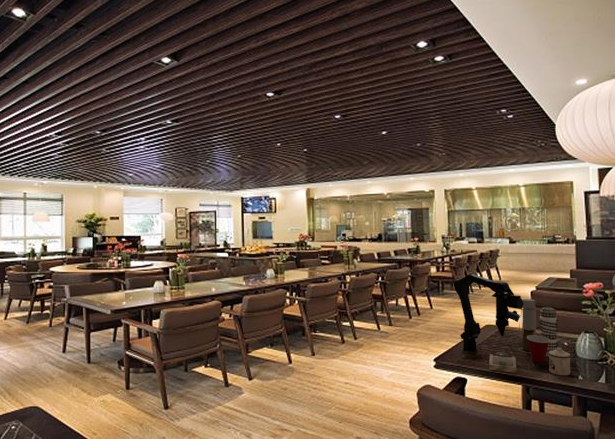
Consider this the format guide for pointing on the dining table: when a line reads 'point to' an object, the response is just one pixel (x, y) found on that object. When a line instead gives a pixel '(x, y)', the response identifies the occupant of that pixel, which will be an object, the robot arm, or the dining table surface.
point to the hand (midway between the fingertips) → (502, 335)
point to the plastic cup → (538, 347)
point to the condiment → (526, 340)
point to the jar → (502, 354)
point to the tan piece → (503, 368)
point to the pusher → (502, 361)
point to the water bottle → (529, 315)
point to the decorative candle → (549, 327)
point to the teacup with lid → (559, 362)
